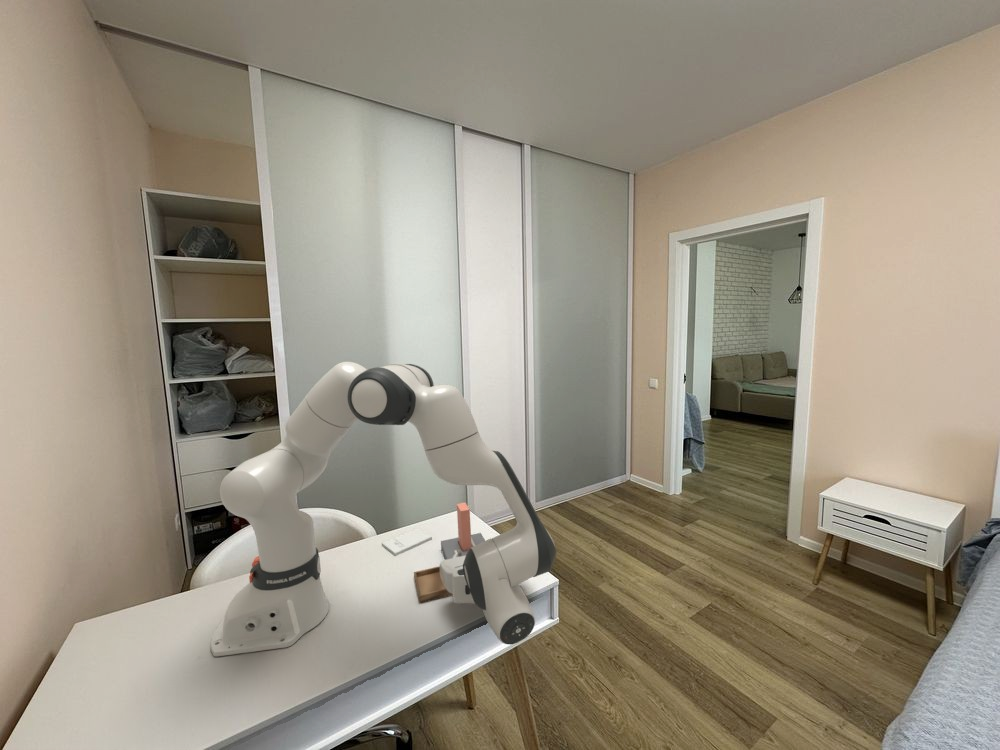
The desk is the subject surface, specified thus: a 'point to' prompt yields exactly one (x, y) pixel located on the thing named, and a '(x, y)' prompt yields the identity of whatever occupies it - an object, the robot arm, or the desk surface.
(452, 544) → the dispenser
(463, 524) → the pink rectangular bar
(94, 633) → the desk surface
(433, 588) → the tray
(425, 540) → the external hard drive
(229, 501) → the robot arm
